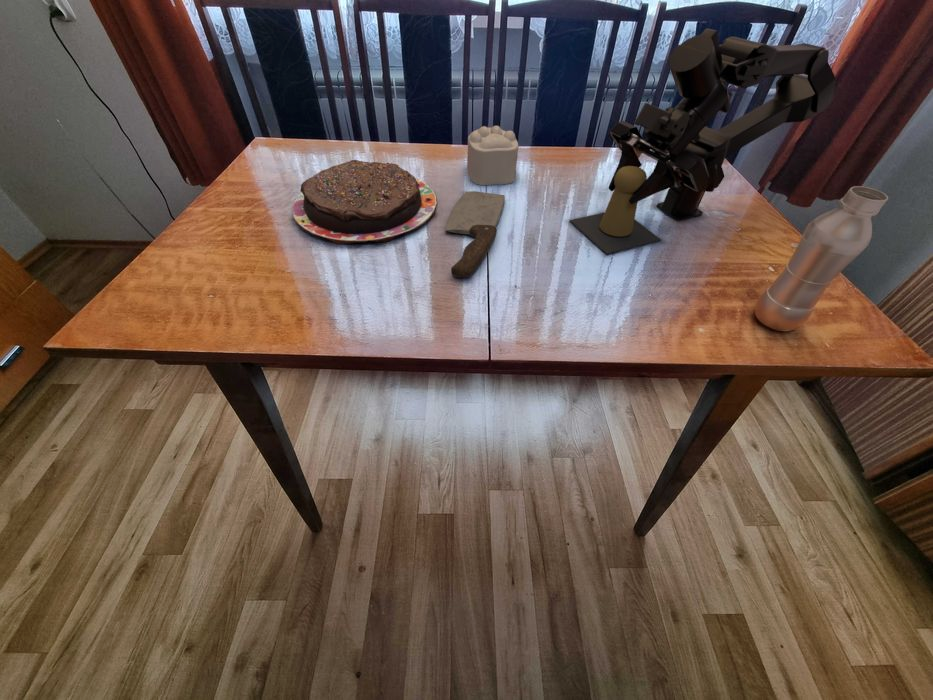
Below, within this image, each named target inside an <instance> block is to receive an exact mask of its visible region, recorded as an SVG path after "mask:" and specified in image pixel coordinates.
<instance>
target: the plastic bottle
mask: <svg viewBox="0 0 933 700" xmlns="http://www.w3.org/2000/svg"><path fill="white" fill-rule="evenodd" d="M888 200H889V196H888V194H886V193H884V192H882V191H881V190H878V189H875V188H872V187H868V186H862V185H861V186H860V185H858V186H857V185H854V186H852V187H850V188H849V189H848V191H846V193H845V194H844V196H843V197H841V198H840V200H839V201H838V207H835V208H833V209H830V210H828V211H826V212H823V213H822V214H820V215H818V216H816V217H814V219H812V220H811V221H810V222H809V223H807V226H806V227H805V229H804V231H803V233H802V235H801V237H800V239H799V242H798V244H797V246H796V248H795V250H794V252H793V253H792V255H791V257H790V258H789V259H788V262H787V263H786V265H785V267H784V268H783V270H782V271H781V272H780V274H779V275H778V276H777V277H776V279H775V280H774V281H773V282H772V283H771V285H770V286H768V287H767V288H766V289H765V290H764V291H763V292H762V293H761V294H760V296H759V297H758V298H757V300H756V303H755V305H754V308H753V309H754V316H755V317H756V319H757V320H758V321H759V323H761V324H762V325H764V326H765V327H768V328H770V329H772V330H775V331H779V332H790V331H793V330H797V329H800V328H801V327H802V326H803V325H804V324H806V323H807V322H808V321H809V320H810V318H811V316H812V314H813V312H814V310H815V308H816V305H817V304H818V302H819V300H820V299H821V298H822V296H823V294H824V293H825V291H826V290H827V289H828V287H829V286H830V284H831V283H833V281H834V280H835V279H836V278H837V277H838V276H839V274H840V273H841V272H842V271H843V270H844V269H845V268H846V267H848V266H849V264H851V263H852V262H853V261H854V260H855V259H856V258H857V257H858V256H859V255H860V254H861V253H863V252H864V250H865V249H866V248H867V247H868V246H869V245H870V242H871V240H872V236H873V222H872V217H875V216H877V215H878V214H879V212H880V211H881V209H882V207H883V206H884V205H885V204H886V202H888Z"/></svg>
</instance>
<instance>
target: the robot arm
mask: <svg viewBox="0 0 933 700" xmlns="http://www.w3.org/2000/svg"><path fill="white" fill-rule="evenodd" d="M719 35H720V34H719V31H718V30H715V29H711V28H705V29H704V30H703V31H702V32H701V33H700V35H695V36H692V37H690V38H687V39H686V40H685V41H683V42H682V43H680V44H677V46H676V47H675V48H674V49H673V51H672V52H671V54H670V55H669V59H668V67H669V69H670V73H671V75H672V79H673V82H674V84H675V87H676V90H677V92H678V95H679V96H681V97H682V98H681V100H680V101H679V102H678V104H677V105H676V106H675V107H672V106H670V105H669V106H668V107H666V108H665V109H662V108H660V107H657V106H655V105H653V104H650V103H648V102H644V104H643V106H642V108H641V110H640V111H639V112H638V115H637V117H636V118H635V119H634V121H633V124H631V123H629V122H627V121H625V120H621V121H617V122H616V123H615V125H614V126H612V128H611V129H610V130H609V134H610V136H611V138H612V139H613V141H614V143H615V145H616V146H617V148H618V149H619V151H621V152H620V153H621V154H620V158H619V161H618V164H617V167H616V169H615V171H614V174H613V175H612V178H611V180H610V183H609V185H608V187H607V188H608V190H609V192H614V189H615V184H614V178H615V175H616V173H617V172H618V170H619V169H620V168H622V167H625V166H635V167H639V168H641V167H642V166H643V164H642V162H641V160H640V157H641V156H642V154H643V155H645V156H647V157H649V158H651V159H653V160H655V161H656V165H655V166H654V169H653V171H652V173H650V175H649V176H647V179H646V181H645V182H644V183H643V184H642V185H641V186H640V187H639V188H638V189H637V190H636V192H635V193H634V194H633V195H632V197H631V198H630V199H629V202H630V204H634V203H636V202H640V201H642V200H644V199H646V198H648V197H650V196H653V195H655V194H657V193H660V192H663V191H665V190H667V192H666V194H665V197H664V200H663V201H662V202H657V203H656V207H657V208H658V209H659V210H661V211H663V212H664V213H665V214H668V216H669V217H671V218H673V219H674V220H675V221H678V222H679V221H684V220H688V219H692V218H696V217H701V216H702V215H703V214H704V211H702V210H701V209H699V207H700V205H701V202H702V200H703V199H704V196H705V193H706V192H708V193H712V192H714V191H715V189H717V188H718V187H719V186H720V185H721V184H722V182H723V180H724V179H725V172H724V169H723V164H724V161H725V159H726V158H727V157H728V156H730V155H731V154H733V153H735V152H736V151H738V150H740V149H741V148H743V147H745V146H747V145H748V144H750V143H753V142H754V141H756V140H758V139H759V138H761V137H762V136H765V134H767V133H770V132H771V131H772V130H774V129H776V128H777V127H780V126H782V125H783V124H789V123H801V122H805V121H807V120H810V119H812V118H815V117H816V116H817V115H819V114H820V113H823V111H825V110H826V109H827V108H828V106H829V105H830V104H831V102H832V100H833V98H834V94H835V87H836V80H837V79H836V78H837V77H836V75H835V73H834V72H833V69H832V67H831V66H830V63H829V57H830V56H829V55H830V53H829V52H830V51H829V50H828V49H827V48H826V47H824V46H819V45H815V44H811V43H806V42H802V43H797V44H775V45H769V44H767V43H762V42H758V41H754V40H750V39H746V38H741V37H738V36H729V37H726V38H725V39H724V40H722V43H721V44H720V36H719ZM768 77H779V78H778V79H777V80H776V82H775V93H774V96H773V98H771V99H770V100H768V101H766V102H764V103H763V104H761V105H759V106H757V107H756V108H754V109H752V110H751V111H749V112H747V113H744V114H743V115H742V116H740V117H738V118H737V119H734V120H733V121H731V122H730V123H727V124H726V125H723V126H722V127H721V128H719V129H717V130H716V129H713V128H711V127H708V126H707V125H708V124H709V123H710V122H711V121H712V119H713V118H714V117H715V116H716V115H717V114H718V113H719V112H722V113H724V114H726V113H728V112H729V111H730V107H731V100H732V96H733V93H732V92H729V91H728V86H727V84H729V85H731V86H734V87H738V88H740V89H747V88H751V87H753V86H756V85H759V84H761V83H762V81H763V79H764V78H768ZM638 126H641V128H644V130H643V134H644V136H645V137H646V138H647V139H644V138H643V136H642V134H641V133H640V130H639V129H638Z"/></svg>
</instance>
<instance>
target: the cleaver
mask: <svg viewBox="0 0 933 700" xmlns="http://www.w3.org/2000/svg"><path fill="white" fill-rule="evenodd" d="M505 198H506V197H505V194H500V193H491V192H484V191H476V190H475V191H474V190H473V191H465V192H464V193H463V194H462V195H461V197H459V199H458V201H457V202H456V203H455V204H454V206H453V208H452V210H451V212H450V213H449V216H448V219H447V222H446V226H445V229H444V232H449V233H454V234H461V235H469V236H470V237H472V238H474V239H473V240H471V242H469V243H468V244H467V245H466V246H465V247H464V249H463V252H462V256H461V258H460V259H459V260H458V261H457V262H456V263H455V264H454V265H453V266H452V267H451V269H450V271H451V273H450V274H452V276H454V277H457V278H461V279H469V278H470V277H471V276H472V275H473V274H474V273H475V272H476V270H477V269H478V268H479V266H480V265H481V263H483V261H484V259H485V257H486V256H487V254H488V252H489V251H490V250H491V247H492V245H493V243H494V241H495V239H496V235H497V231H498V229H497V226H498V223H499V220H500V218H501V216H502V214H503V213H502V212H503V209H504V207H505V201H506V200H505Z"/></svg>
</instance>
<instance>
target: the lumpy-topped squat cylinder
mask: <svg viewBox="0 0 933 700" xmlns="http://www.w3.org/2000/svg"><path fill="white" fill-rule="evenodd" d="M518 155H519V141H518V140H517V137H516V134H515V132H514V131H512V130H507V131H506V130H503V129H502V128H501V127H500V126H499V125H493V126H491V127H488V126H486V125H483V126H481V127H480V128H478V129H476V130H473V131H472V132H471V133H470V134H469V135H468V137H467V161H466V162H467V163H466V164H467V166H466V167H467V169H466V170H467V175H468V177H469V179H470V180H471V181H472V182H473V183H474V184H476V185H479V186H491V185H509V184H512V183H514V182H515V180H516V173H517V164H518Z"/></svg>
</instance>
